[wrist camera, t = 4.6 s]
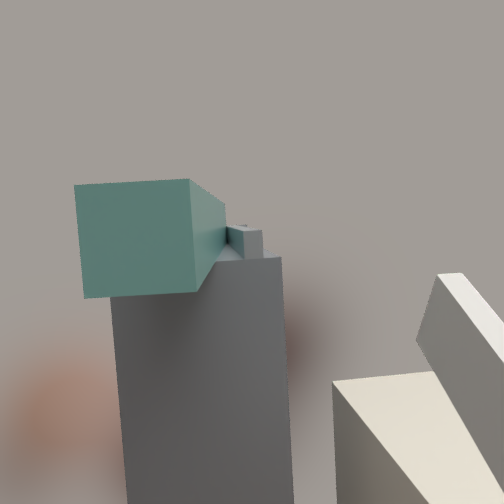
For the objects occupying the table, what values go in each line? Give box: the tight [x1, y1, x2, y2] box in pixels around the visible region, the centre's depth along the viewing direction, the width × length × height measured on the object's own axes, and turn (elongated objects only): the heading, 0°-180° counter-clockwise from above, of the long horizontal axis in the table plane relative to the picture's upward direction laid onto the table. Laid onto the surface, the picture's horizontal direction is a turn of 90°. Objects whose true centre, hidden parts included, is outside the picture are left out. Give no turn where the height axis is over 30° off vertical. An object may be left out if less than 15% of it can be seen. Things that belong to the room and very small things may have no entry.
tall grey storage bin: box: [110, 225, 294, 504], centre depth 33 cm, size 9×18×32 cm, turn 7°
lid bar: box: [74, 179, 227, 298], centre depth 26 cm, size 4×26×4 cm, turn 1°
